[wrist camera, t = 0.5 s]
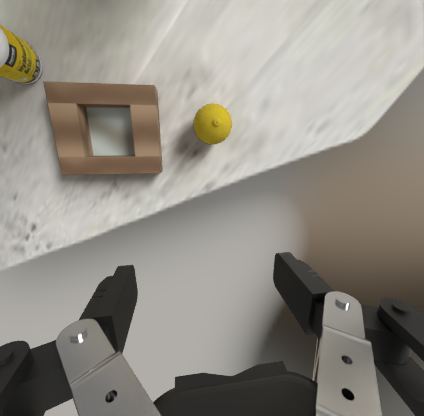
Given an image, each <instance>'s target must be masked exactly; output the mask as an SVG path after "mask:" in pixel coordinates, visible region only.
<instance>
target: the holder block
mask: <svg viewBox="0 0 424 416" xmlns="http://www.w3.org/2000/svg"><path fill="white" fill-rule="evenodd" d="M44 87H45V92H46V97H47V102H48V107H49V112H50V117H51V122H52V127H53V132H54V137H55V142H56V147H57V152H58V157H59V161H60V166H61V171H62V175H78V174H136V173H161V172H162V155H161V139H160V124H159V109H158V94H157V89H156V87H155V85H128V84H99V83H69V82H44Z"/></svg>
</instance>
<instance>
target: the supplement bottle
mask: <svg viewBox="0 0 424 416" xmlns="http://www.w3.org/2000/svg"><path fill="white" fill-rule="evenodd" d="M41 73H42V62H41V59H40V57H39V55H38V53H37V52H36V51H35V49H34V48H33V47H32V46H31V45H29V44H28V43H27V42H25V41H24V40H22V39H21V38H19V37H18V36H16V35H15V34H13V33H12V32H10V31H9V30H7V29H6V28H4V27H3V26H1V25H0V76H2V77H4V78H7V79H9V80H12V81H15V82H17V83H21V84H30V83H33V82H35V81H37V80H38V79H39V77H40V76H41Z"/></svg>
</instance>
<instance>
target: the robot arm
mask: <svg viewBox="0 0 424 416" xmlns="http://www.w3.org/2000/svg"><path fill="white" fill-rule="evenodd" d="M273 280H274V284H275V287H276V288H277V290H278V291H279V293H280V295H281V296H282V298H283V299H284V301H285V303H286V304H287V306H288V307H289V309H290V310H291V312H292V314H293V315H294V317H295V318H296V320H297V322H298V323H299V325H300V326H301V328H302V329H303V331H304V333H305V334H306V335H312V334H316V335H317V337H318V340H317V346H316V355H315V364H314V372H313V380H312V379H309V378H308V377H306V376H304V375H301V374H298V373H295V372H291V371H287V369H286V367H285V365H284V363H283V361H279V362H273V363H266V364H260V365H256V366H254V367H252V368H249V369H247V370H245V371H243V372H241V373H239V374H237V375H234V376H224V375H216V374H208V373H199V374H192V375H185V376H179V377H175V388H173V389H171V390H169V391H167V392H166V393H164V394H163V395H161V396H160V397H159V398H157V399H156V400H155V401H154V402H152V400H151V399H150V397H149V396H148V394H147V393H146V391H145V389H144V388H143V386H142V385H141V383H140V382H139V380H138V378H137V377H136V375H135V374H134V372H133V370H132V369H131V367H130V366H129V364H128V363H127V361H126V359H125V358H124V356H123V355H122V352H123V349H124V346H125V342H126V338H127V334H128V331H129V328H130V323H131V320H132V316H133V313H134V309H135V306H136V302H137V294H138V291H137V283H136V277H135V269H134V266H133V265H126V266H118V267H117V269H116V271H115V273H114V275H113V276H109V277H106V278H105V279H104V280H103V281H102V282H101V283H100V284H99V285H98V287H97V289H96V291H95V292H94V294H93V296H92V299H90V301H89V303H88V305H87V307H86V308H85V310H84V312H83V313H82V315H81V317H80V319H79V320H78V321H76V322H74V323H72V324H70V325H69V326H67V327H66V328H65V329H64V330H63V331H62V332H61V333H60V334H59V336H58V337H57V340H55V341H52V342H50V343H47V344H44V345H41V346H38V347H36V348H32V349H30V347H29V345H28V343H27V342H25V341H14V342H11V343H7V344H5V345H3V346H1V347H0V416H43V415H44V413H45V411H46V410H48V409H51V408H53V407H55V406H57V405H59V404H61V403H63V402H66V401H68V400H70V399H72V398H73V400H74V403H75V406H76V409H77V412H78V415H79V416H382V413H381V406H380V399H379V393H378V386H377V379H376V372H375V365H376V367H377V368H378V369H379V371H380V372H381V373H382V374H383V375H384V377H385V378H386V379H387V381H388V382H389V383H390V384H391V386H392V387H393V388H394V389H395V391H396V392H397V393H398V394H399V396H400V397H401V398H402V399H403V401H404V402H405V403H406V404H407V406H408V407H409V408H410V410H411V411H412V412H413V413H414V415H415V416H424V370H422V368H421V367H419V365H418V364H417V363H416V362H415V361H414V360H413V359H412V358H411V357H410V354H411V352H412V350H413V351H414V352H415V353H416V354H417V355H418V356H419V357H420V358H421V359H422V360H423V361H424V314H422V313H421V312H420V311H419V310H417V309H416V308H414V307H413V306H411V305H410V304H408V303H406V302H403V301H401V300H397V299H393V298H384V299H382V300H381V301H380V304H379V307H372V306H364V305H360V303H359V302H358V301H357V300H356V299H355V298H353V297H352V296H350V295H347V294H345V293H342V292H335V291H334V290H333V289H332V288H331V287H330V286H329V285H328V284H327V283H326V282H325V281H324V280H323V279H322V278H321V277H320V276H318V274H317V273H316V272H315V271H314V270H313V269H312V268H311V267H310V266H309V265H307V264H306V263H304V262H302V261H300V260H297V259H296V258H295V257H294V256H293V255H292V254H291V253H290V252H285V253H276V255H275V262H274V273H273ZM374 364H375V365H374Z"/></svg>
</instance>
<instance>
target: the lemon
mask: <svg viewBox="0 0 424 416" xmlns="http://www.w3.org/2000/svg"><path fill="white" fill-rule="evenodd" d="M231 128H232V120H231V116H230V114H229V112H228V111H227V110H226V109H225V108H224V107H223V106H221V105H218V104H207V105H205V106H203V107H202V108H201V109H200V110H199V111H198V112H197V114H196V116H195V118H194V130H195V133H196V135H197V136H198V138H199V139H200V140H201V141H203V142H205V143H207V144H218V143H221V142H222V141H224V140H225V139H226V138H227V137H228V135H229V133H230V131H231Z"/></svg>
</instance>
